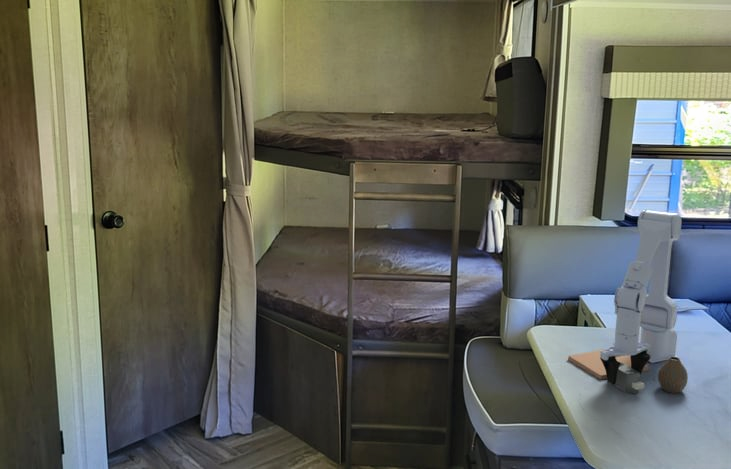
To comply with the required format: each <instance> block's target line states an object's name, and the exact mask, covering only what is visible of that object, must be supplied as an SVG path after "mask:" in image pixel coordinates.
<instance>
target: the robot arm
mask: <svg viewBox="0 0 731 469" xmlns="http://www.w3.org/2000/svg"><path fill="white" fill-rule="evenodd" d="M682 222H683V221H682V217H681V215H680V214H679V213H672V212H666V211H665V212H663V211H656V210H655V211H654V210H648V209H643V210H642V211H641V212H640V213H639V215H638V219H637V229H638V233H639V236H640V237H641V238H640V242H639V245H638V250H637V252H636V257H635V260H634V261H631V262H630V263H629V265H628V266H627V267H628V268H627V270H626V273H625V276H624V279H623V282H622V284H621V286H620V287H619V286H618V287H617V289H616V291H615V293H614V299H613V303H614V304H613V305H614V313H615V314H616V319H615V320H616V321H615V333H614V342H613V343H612V345H611V346H609V347H608V348H605V350H603V349H601V350H602V351H601V352H600V359H601V361H602V363H603V365H604V367H605V370H606V374H607V382H608V384H611V385H613V386H615V385H614V384H615V383H616V378H617V372H618V369H619V366H620V364H621V363H620V362H618V361H617V359H615V358H616V357H619V356H626V355H629V356H630V357H631V368H632V369H634V370H636V371H638V372H639V373H640V376H641V374H642V372H643V371H642V370H643V368H644V366H645V365H647V363H648V362H649V363H651V364H654V363H659V362H666V361H667V360H668V359H669V358H670V357H678V356H677V355H676V352H677V351H676V350H677V342H678V340H677V339H678V333H677V331H676V329H675V326H676V323H677V320H678V312H677V303H676V301H675V300H673V299H672V298H671V297H669V295H668V288H669V286H668V285H669V276H670V266H671V265H670V264H671V255H672V247H673V242H674V241H679V240H680V238H681V237H680V236H681V231H682V230H681V229H682ZM648 285H649V286H648ZM647 288H648V291H647ZM640 328H641V331H640ZM639 337H640V338H639ZM639 340H640V342H639Z"/></svg>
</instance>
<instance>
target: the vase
mask: <svg viewBox="0 0 731 469" xmlns="http://www.w3.org/2000/svg"><path fill="white" fill-rule="evenodd" d="M657 377H658V378H657V379H658V383H659V386H660V388H662V389H663V390H664V391H665V392H668V393H671V394H678V393H680V392H682V391H683V390H684V389H685V388H686V386H687V385H688V372H687V369H686V367H685V366H684V364H683V363H682V361H681V359H680V357H678V356H677V357H670V358H669V359H668V360H665V361H664V363H663V364H662V365H661V366H660V367H659V370H658V373H657Z"/></svg>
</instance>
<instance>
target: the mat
mask: <svg viewBox="0 0 731 469" xmlns="http://www.w3.org/2000/svg"><path fill="white" fill-rule="evenodd" d="M605 349H606V348H605ZM605 349H599V350H593V351H587V352H581V353H577V354H570V355H568V361H570V362H571V363H573V364H575V365H576V366H578V367H579V368H581V369H582V370H584V371H586V372H587V373H589V374H591V375H592V376H594V377H596V378H598V380H606V379H607V374H606V370H605V367H604V365H603V363H602V361H601V359H600V352H601V351H602V350H605ZM615 359H617V361H619V362H622V363H623V364H625V365H627V366H629V367H631V357H630V355H626V356H619V357H616V358H615ZM646 371H649V365H647V364H646V365H645V366H644V368H643V370H642V372H646ZM607 380H608V379H607Z"/></svg>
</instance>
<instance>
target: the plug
mask: <svg viewBox="0 0 731 469" xmlns="http://www.w3.org/2000/svg"><path fill="white" fill-rule="evenodd" d="M618 362H619V361H618ZM620 363H621V364H620V366H619V369H618V372H617V378H616V383H615V384H614V385H613V386H615V387H617V388H618V389H620V390H621V391H624V393H627V394H630V395H631V394H632V395H635V394H636V395H637V394H639V391H640V390H642V389H645V383H644V382H642V381H640V379H641V378H640V377H641V375H640V373H639V372H638V371H636V370H634V369H632V368H631V367H629V366H627V365H625V364H623V363H622V362H620Z"/></svg>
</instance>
